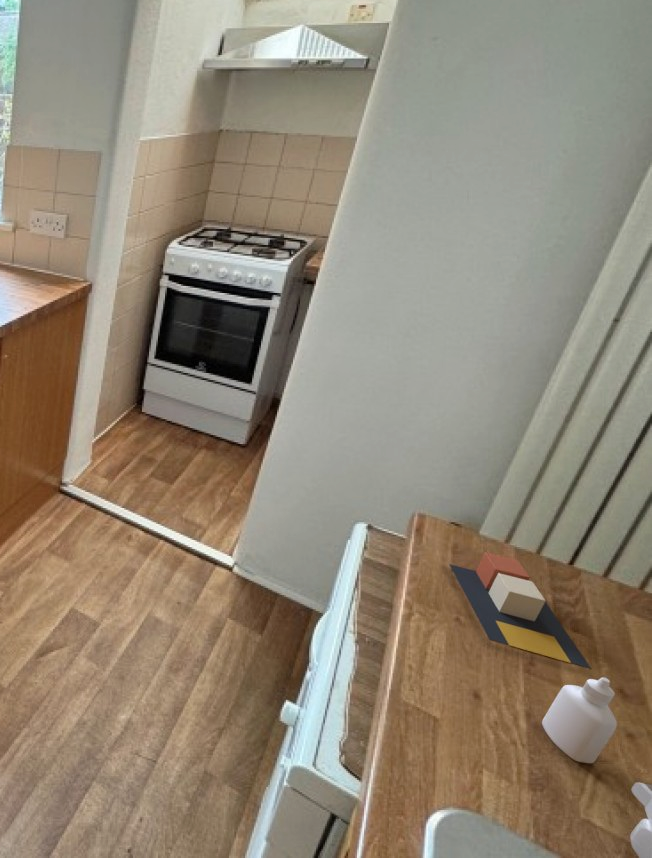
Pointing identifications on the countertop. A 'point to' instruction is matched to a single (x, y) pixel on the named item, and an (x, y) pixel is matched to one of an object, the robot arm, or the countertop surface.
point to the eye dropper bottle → (582, 719)
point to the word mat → (518, 624)
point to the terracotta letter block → (498, 569)
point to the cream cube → (516, 597)
